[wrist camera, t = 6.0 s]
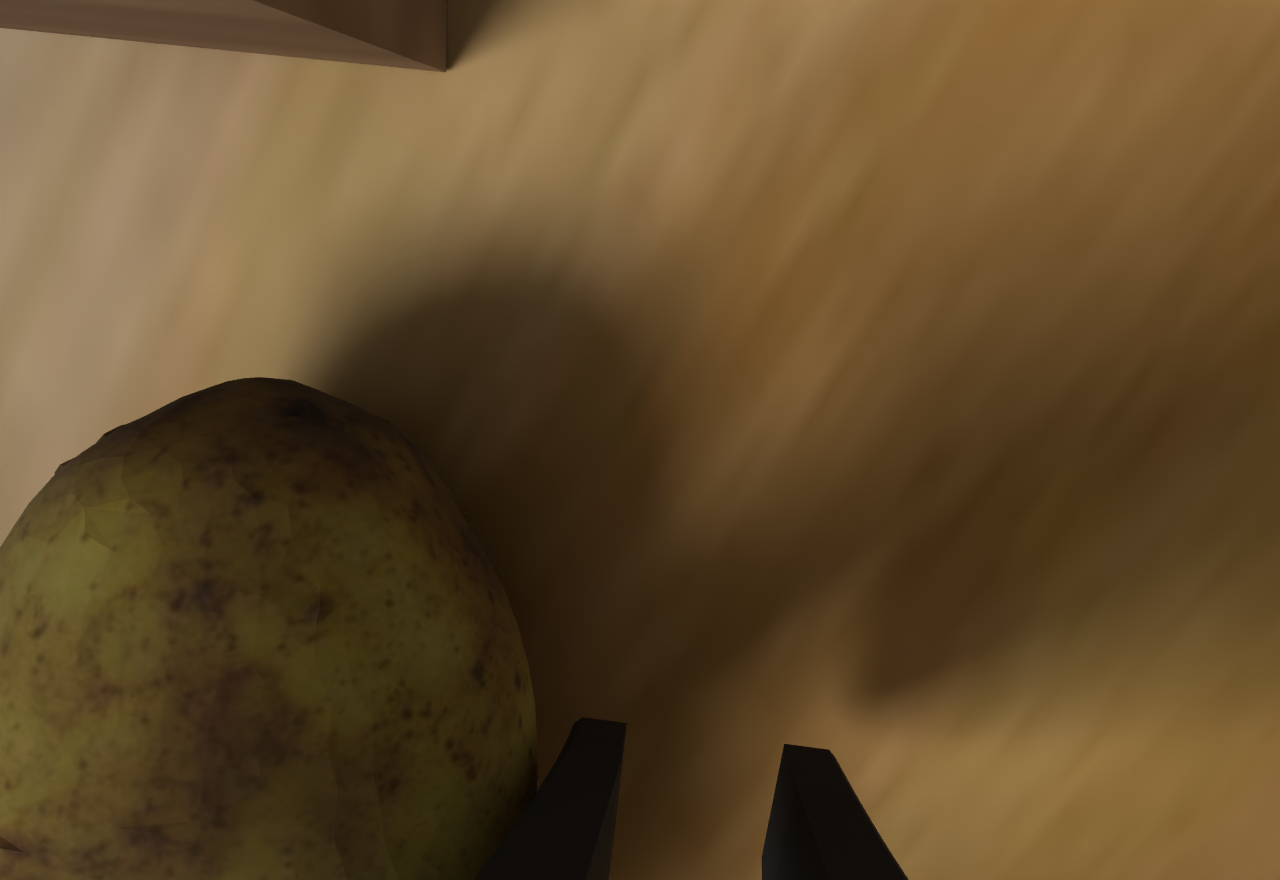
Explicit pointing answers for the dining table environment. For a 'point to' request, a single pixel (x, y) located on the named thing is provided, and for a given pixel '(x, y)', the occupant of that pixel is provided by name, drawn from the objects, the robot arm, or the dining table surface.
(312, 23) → the cradle
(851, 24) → the dining table surface
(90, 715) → the potato
